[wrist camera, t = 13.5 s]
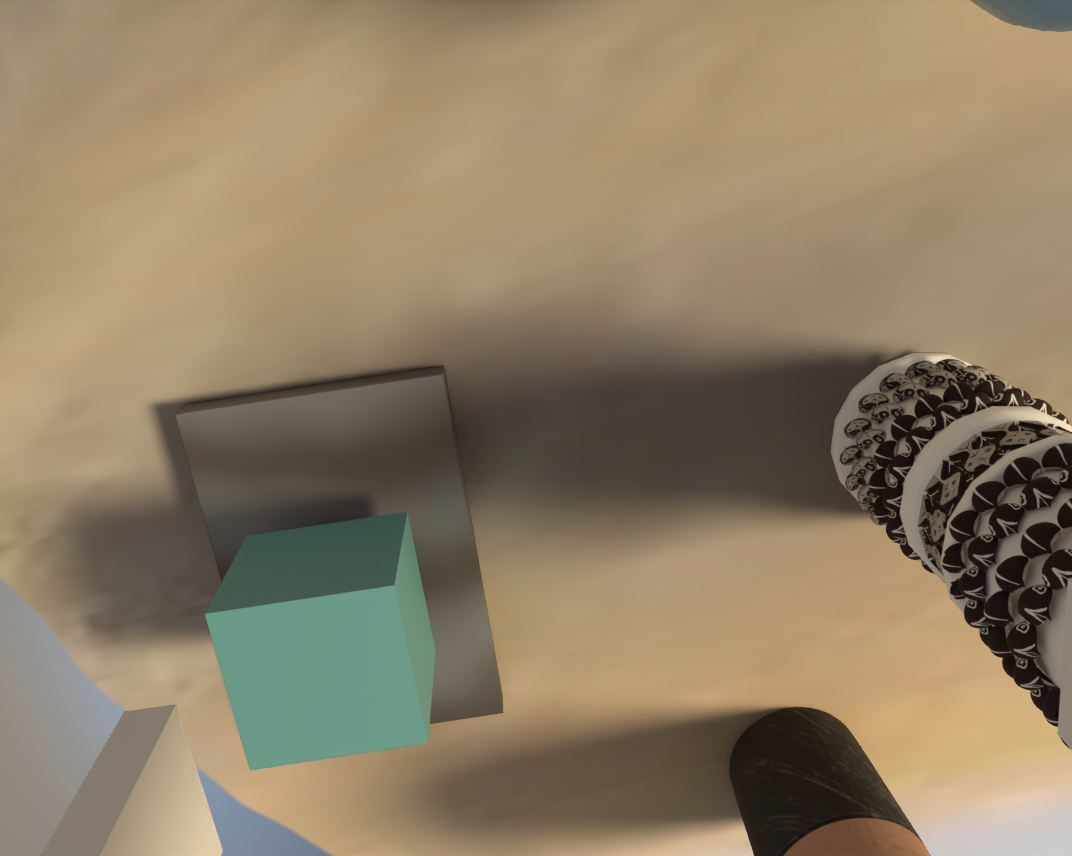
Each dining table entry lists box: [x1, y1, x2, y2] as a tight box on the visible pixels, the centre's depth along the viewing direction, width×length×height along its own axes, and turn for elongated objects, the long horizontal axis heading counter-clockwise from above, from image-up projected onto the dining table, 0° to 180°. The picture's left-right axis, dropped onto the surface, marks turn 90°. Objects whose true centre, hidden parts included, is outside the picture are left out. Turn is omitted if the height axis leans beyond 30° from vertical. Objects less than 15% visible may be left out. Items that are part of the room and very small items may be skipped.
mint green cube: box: [205, 512, 435, 770], centre depth 40 cm, size 7×7×7 cm
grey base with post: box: [175, 366, 503, 724], centre depth 42 cm, size 18×12×10 cm, turn 8°
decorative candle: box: [830, 353, 1072, 748], centre depth 34 cm, size 9×9×25 cm
